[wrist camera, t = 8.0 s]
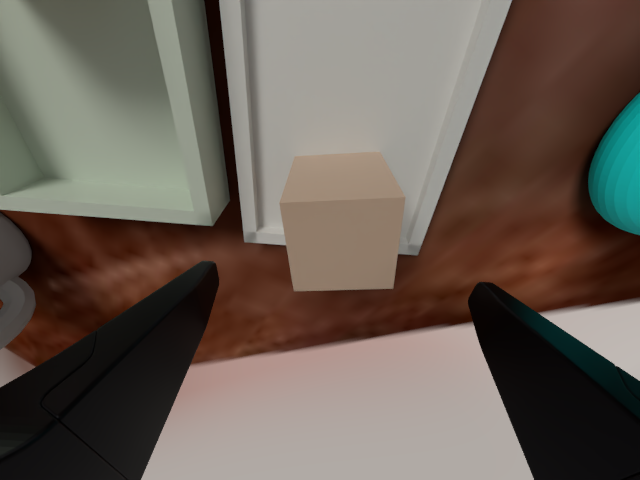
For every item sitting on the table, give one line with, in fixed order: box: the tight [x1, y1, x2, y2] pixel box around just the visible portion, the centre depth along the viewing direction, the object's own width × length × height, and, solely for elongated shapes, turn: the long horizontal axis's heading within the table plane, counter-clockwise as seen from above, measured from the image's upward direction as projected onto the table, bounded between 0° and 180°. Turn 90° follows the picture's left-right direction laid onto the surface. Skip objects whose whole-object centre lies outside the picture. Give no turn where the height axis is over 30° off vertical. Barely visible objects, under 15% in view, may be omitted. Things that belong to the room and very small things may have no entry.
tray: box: [219, 0, 512, 255], centre depth 13 cm, size 11×16×1 cm
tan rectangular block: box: [279, 152, 406, 291], centre depth 13 cm, size 4×4×6 cm
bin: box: [0, 0, 230, 226], centre depth 10 cm, size 11×16×3 cm
